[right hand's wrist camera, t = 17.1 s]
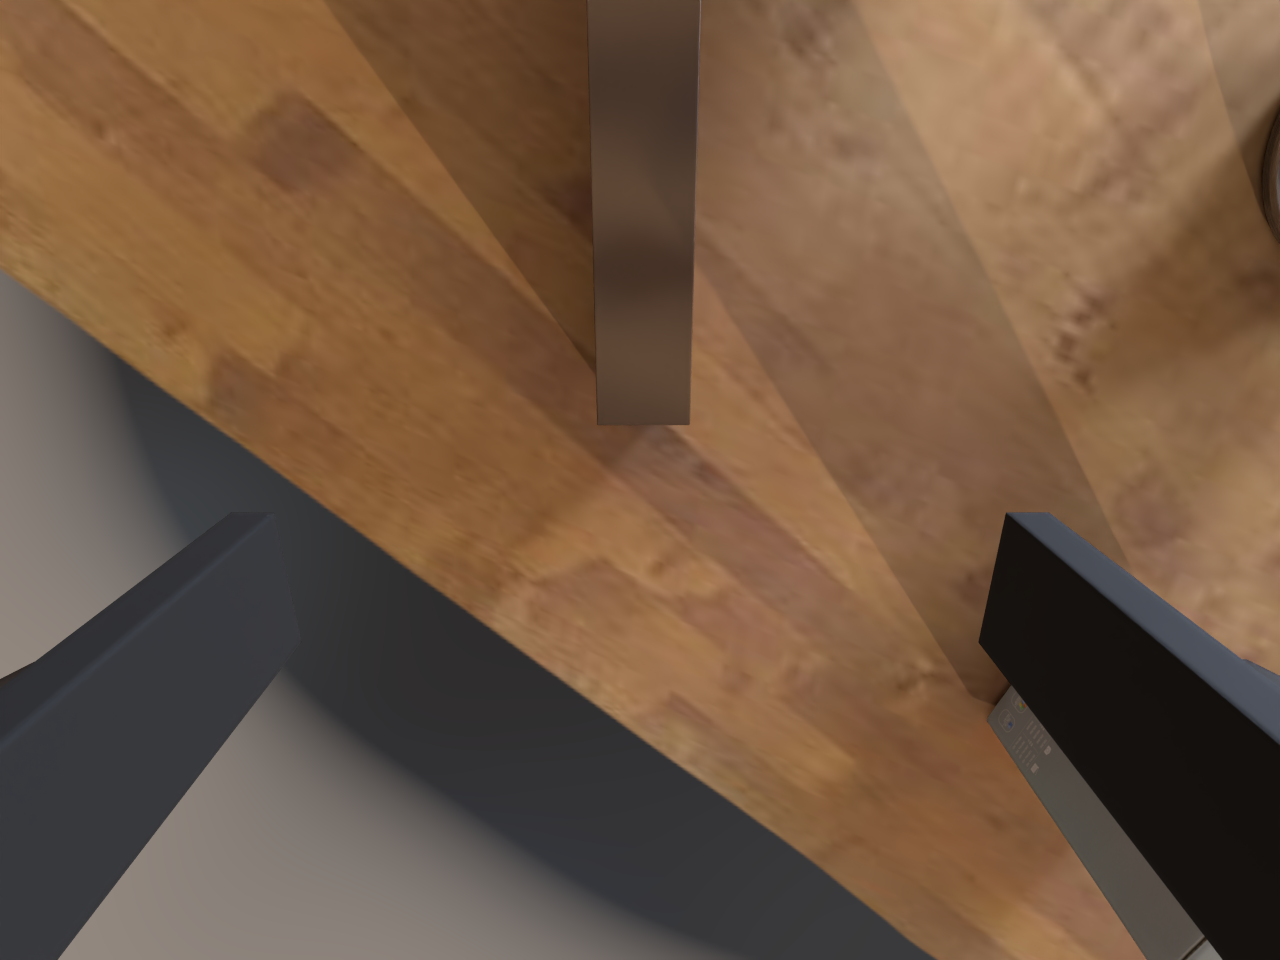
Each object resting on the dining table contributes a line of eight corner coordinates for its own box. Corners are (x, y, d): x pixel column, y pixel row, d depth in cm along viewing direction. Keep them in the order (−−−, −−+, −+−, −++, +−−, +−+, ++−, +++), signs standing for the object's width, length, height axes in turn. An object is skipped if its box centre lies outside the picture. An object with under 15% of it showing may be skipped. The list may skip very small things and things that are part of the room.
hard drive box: (980, 719, 55) (1155, 984, 36) (1036, 643, 52) (1254, 886, 34) (1145, 776, 57) (1389, 1053, 38) (1206, 705, 54) (1499, 966, 36)
